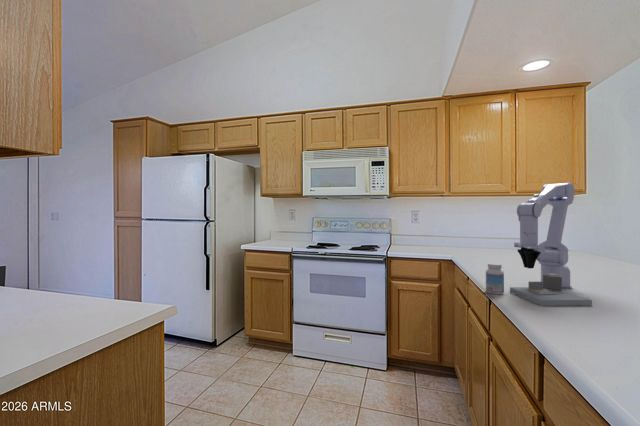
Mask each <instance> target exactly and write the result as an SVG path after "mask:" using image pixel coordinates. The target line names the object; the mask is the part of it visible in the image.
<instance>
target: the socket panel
mask: <svg viewBox="0 0 640 426" xmlns="http://www.w3.org/2000/svg"><path fill="white" fill-rule="evenodd" d="M527 288H529V286H528V287H527V286H524V287H519V286H518V287H517V286H515V287H511V286H510V287H509V292H510V293H511V294H513V295H515V296H518V297H520V298H521V299H524V300H527V301H528V302H532V303H534V304H536V305H538V306H540V307H560V306H561V307H565V306H566V307H567V306H569V307H570V306H571V307H576V305H581V306H580V307H586V306H587V307H590V306H592V305H593V300H592V299H591V298H589V297H585V296H581V295H578V294H576V293H573V292H570V291H567V290H564V289H562V291H553V292H556V293H558V294H543V295H539V294H537V293H534V292H532V291H529V290H527Z"/></svg>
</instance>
